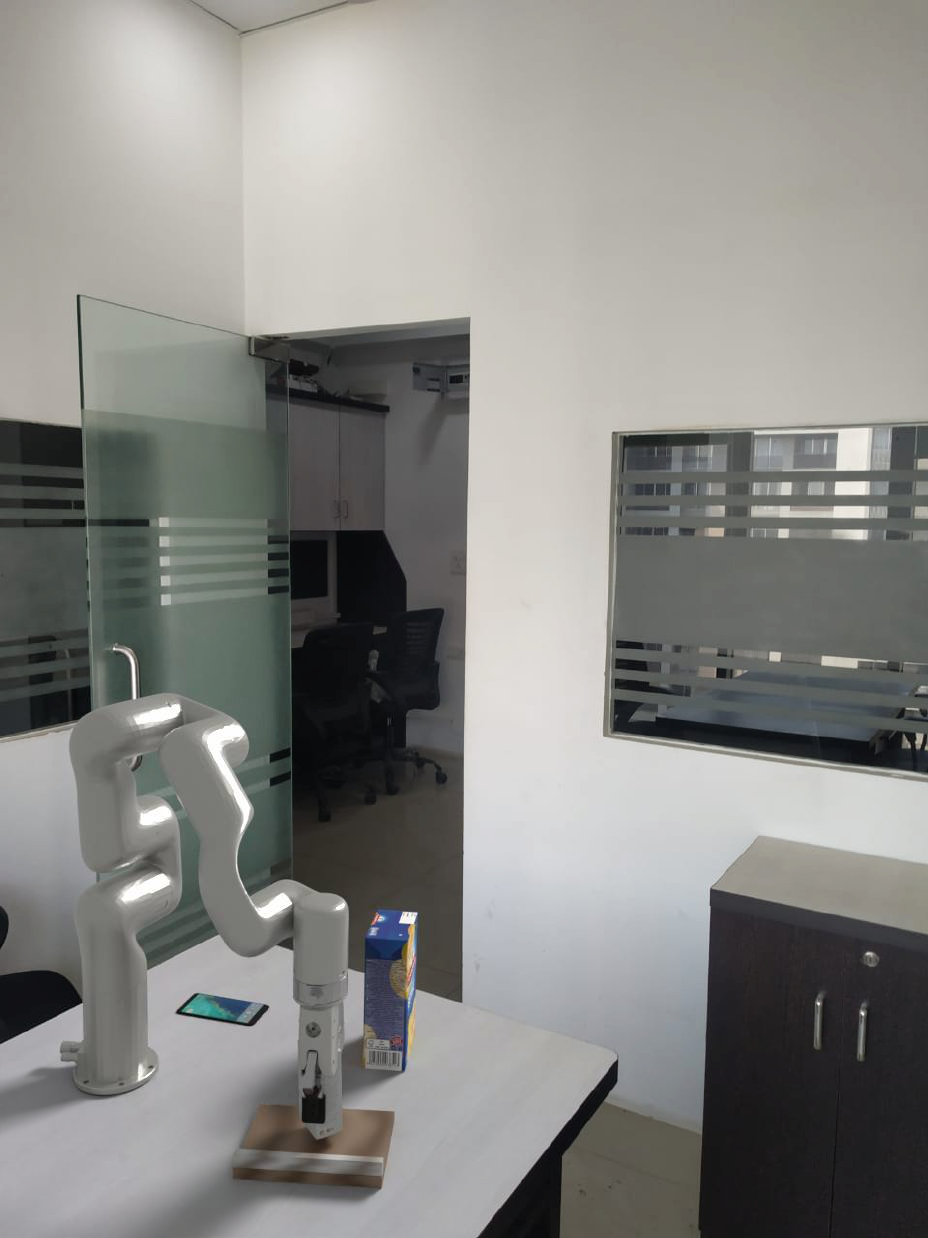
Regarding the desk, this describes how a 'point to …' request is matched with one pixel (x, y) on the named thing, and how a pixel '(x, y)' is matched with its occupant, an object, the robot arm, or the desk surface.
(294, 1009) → the desk surface
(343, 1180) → the shelf board
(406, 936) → the beverage box
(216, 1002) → the smartphone
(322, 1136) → the skincare box
